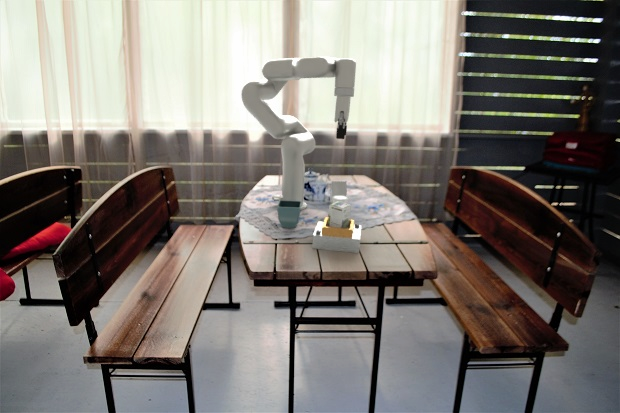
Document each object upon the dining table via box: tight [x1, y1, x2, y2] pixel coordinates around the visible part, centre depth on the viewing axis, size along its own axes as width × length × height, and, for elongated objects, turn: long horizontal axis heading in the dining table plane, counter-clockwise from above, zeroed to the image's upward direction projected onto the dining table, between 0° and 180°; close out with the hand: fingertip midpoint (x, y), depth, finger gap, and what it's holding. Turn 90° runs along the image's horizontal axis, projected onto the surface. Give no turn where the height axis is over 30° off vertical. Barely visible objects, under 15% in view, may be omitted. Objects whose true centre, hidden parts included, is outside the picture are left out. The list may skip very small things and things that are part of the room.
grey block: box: [329, 180, 348, 205], centre depth 206 cm, size 4×7×10 cm, turn 99°
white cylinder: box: [332, 195, 349, 204], centre depth 192 cm, size 7×7×7 cm
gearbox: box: [311, 216, 362, 254], centre depth 159 cm, size 16×14×8 cm
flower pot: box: [276, 200, 302, 229], centre depth 174 cm, size 9×9×9 cm
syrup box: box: [327, 201, 352, 228], centre depth 159 cm, size 6×6×14 cm
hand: (341, 136), depth 178 cm, fingers open, 9 cm apart
